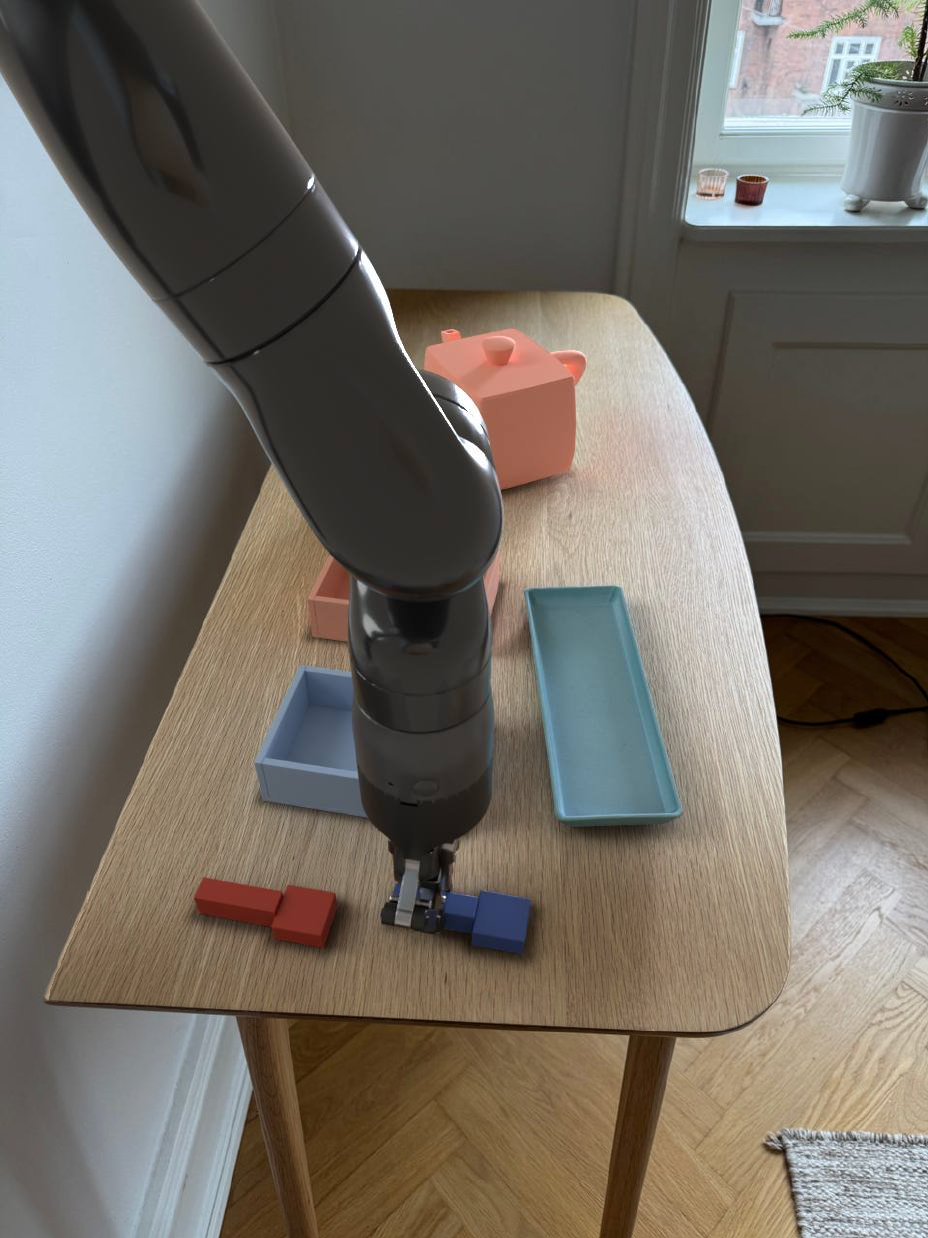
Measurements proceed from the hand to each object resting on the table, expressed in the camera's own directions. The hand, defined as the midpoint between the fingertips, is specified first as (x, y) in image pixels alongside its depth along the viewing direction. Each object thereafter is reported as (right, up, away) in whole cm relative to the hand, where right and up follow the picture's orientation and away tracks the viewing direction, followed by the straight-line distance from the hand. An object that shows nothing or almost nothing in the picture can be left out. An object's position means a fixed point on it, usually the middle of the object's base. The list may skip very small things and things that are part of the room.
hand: (431, 911), depth 61 cm
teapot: (+5, +39, +46) cm, 61 cm away
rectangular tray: (+13, +12, +15) cm, 23 cm away
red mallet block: (-11, 0, +1) cm, 11 cm away
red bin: (-3, +20, +24) cm, 31 cm away
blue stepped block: (+2, -1, 0) cm, 2 cm away
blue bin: (-4, +8, +10) cm, 14 cm away
